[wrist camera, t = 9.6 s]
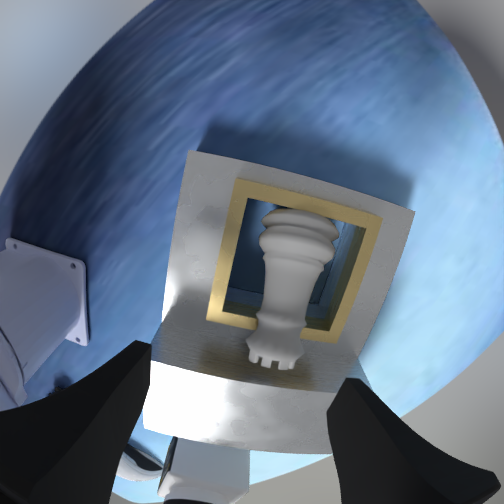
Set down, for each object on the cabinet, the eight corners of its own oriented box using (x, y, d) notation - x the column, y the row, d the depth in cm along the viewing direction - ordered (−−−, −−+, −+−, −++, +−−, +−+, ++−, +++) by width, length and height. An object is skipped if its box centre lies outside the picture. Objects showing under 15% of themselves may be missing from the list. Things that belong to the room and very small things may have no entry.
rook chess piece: (305, 201, 13) (268, 377, 12) (355, 232, 15) (327, 373, 14) (246, 210, 16) (214, 349, 15) (298, 235, 19) (273, 353, 18)
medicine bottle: (181, 414, 24) (156, 521, 12) (251, 433, 24) (250, 538, 13) (168, 446, 26) (147, 533, 14) (228, 462, 26) (221, 549, 15)
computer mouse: (146, 476, 29) (140, 497, 26) (41, 404, 26) (28, 422, 22) (186, 463, 27) (181, 488, 24) (61, 377, 23) (44, 400, 20)
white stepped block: (163, 375, 22) (144, 427, 16) (195, 151, 17) (167, 145, 11) (319, 402, 23) (331, 453, 17) (401, 206, 18) (452, 225, 12)
